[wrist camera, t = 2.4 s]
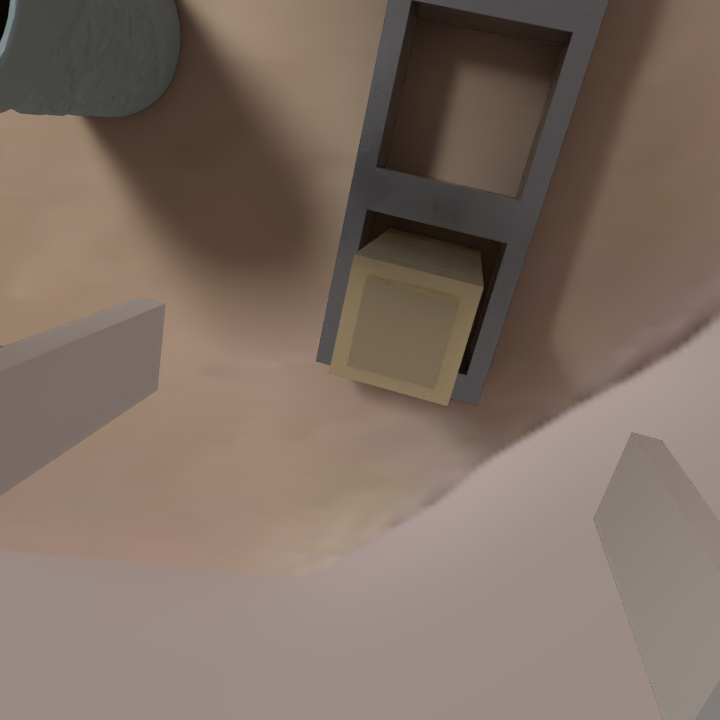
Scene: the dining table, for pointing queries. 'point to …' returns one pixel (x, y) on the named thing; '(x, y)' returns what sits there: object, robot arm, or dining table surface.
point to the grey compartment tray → (452, 201)
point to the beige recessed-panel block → (408, 315)
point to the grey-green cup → (86, 55)
